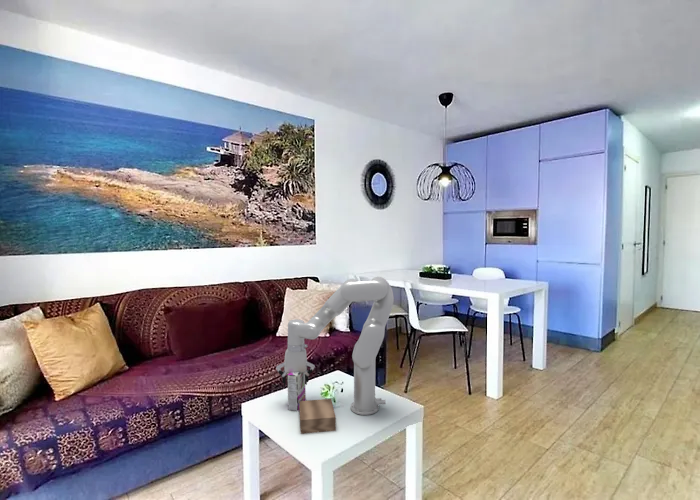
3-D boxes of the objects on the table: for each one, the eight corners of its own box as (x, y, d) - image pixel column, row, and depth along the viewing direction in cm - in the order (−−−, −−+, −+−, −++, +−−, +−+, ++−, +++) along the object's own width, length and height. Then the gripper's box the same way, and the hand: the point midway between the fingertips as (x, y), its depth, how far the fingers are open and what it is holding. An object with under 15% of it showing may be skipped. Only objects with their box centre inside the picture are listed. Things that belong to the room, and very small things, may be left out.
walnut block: (331, 411, 165) (331, 398, 165) (335, 431, 149) (335, 417, 149) (299, 414, 163) (299, 401, 163) (300, 434, 147) (300, 420, 147)
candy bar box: (295, 399, 177) (295, 365, 176) (305, 400, 176) (305, 366, 175) (287, 410, 166) (286, 374, 165) (297, 411, 165) (297, 375, 164)
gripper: (314, 344, 174) (313, 379, 175) (276, 345, 171) (276, 381, 172) (315, 349, 167) (314, 386, 168) (276, 350, 164) (275, 388, 165)
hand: (295, 383), depth 170 cm, fingers open, 9 cm apart
